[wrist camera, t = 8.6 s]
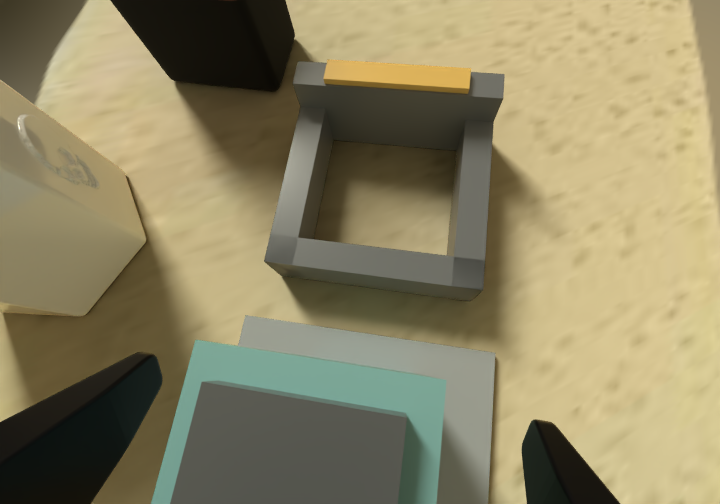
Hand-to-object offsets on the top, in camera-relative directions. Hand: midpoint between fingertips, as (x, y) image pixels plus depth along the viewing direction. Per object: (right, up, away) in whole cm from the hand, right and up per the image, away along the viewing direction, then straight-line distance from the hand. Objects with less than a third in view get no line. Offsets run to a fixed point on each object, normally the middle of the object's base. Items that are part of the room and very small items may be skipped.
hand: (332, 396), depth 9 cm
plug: (0, -3, +6) cm, 7 cm away
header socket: (+2, +6, +10) cm, 12 cm away
